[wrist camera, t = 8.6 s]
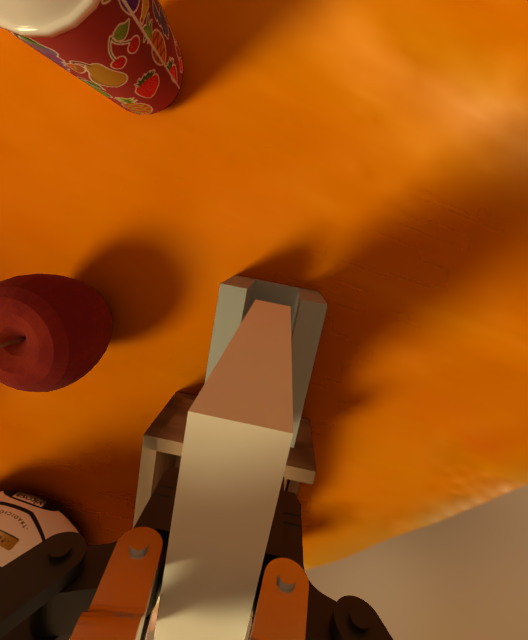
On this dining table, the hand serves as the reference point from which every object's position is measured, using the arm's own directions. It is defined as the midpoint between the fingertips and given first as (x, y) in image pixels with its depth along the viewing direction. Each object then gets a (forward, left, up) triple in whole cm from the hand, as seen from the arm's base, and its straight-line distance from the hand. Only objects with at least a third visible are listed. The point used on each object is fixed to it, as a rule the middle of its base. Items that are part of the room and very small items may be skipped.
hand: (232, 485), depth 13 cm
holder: (0, 0, -20) cm, 20 cm away
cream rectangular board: (0, 0, -12) cm, 12 cm away
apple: (+18, +1, -20) cm, 27 cm away
